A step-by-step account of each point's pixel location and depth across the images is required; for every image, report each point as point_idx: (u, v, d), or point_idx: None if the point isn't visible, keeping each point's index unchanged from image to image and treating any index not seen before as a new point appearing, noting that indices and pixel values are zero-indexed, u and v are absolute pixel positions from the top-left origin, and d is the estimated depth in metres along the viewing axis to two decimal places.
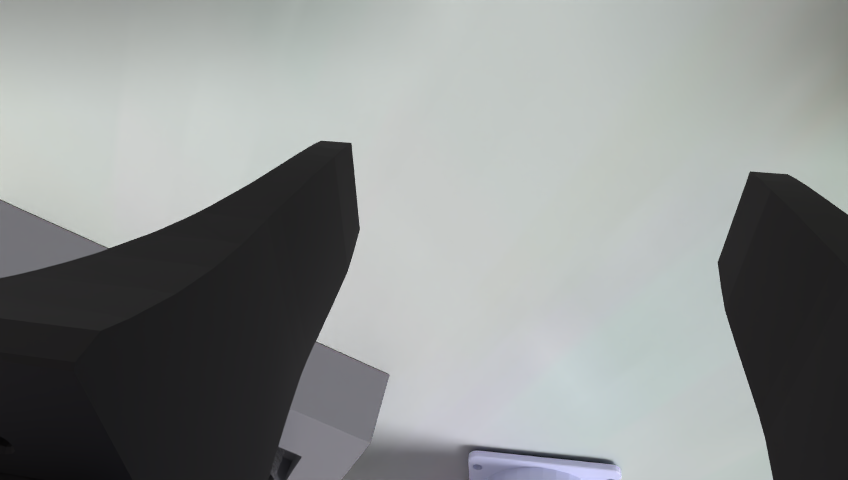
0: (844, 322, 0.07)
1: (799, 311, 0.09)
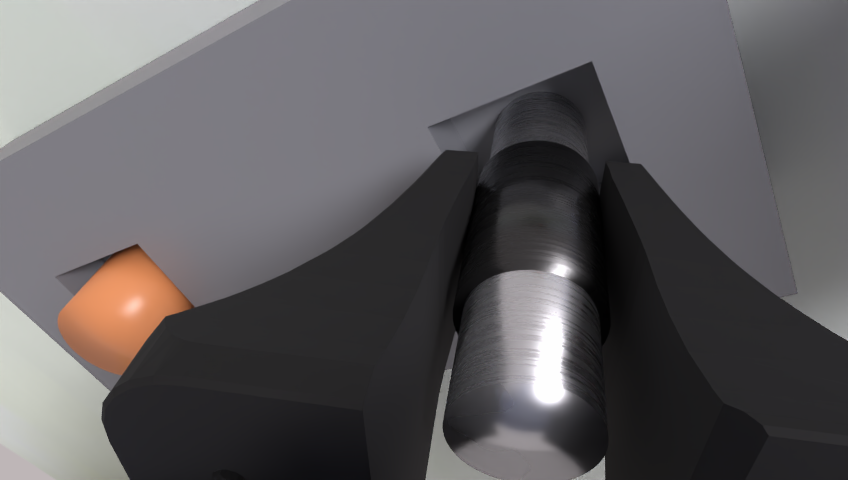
0: (641, 301, 0.08)
1: (623, 293, 0.09)
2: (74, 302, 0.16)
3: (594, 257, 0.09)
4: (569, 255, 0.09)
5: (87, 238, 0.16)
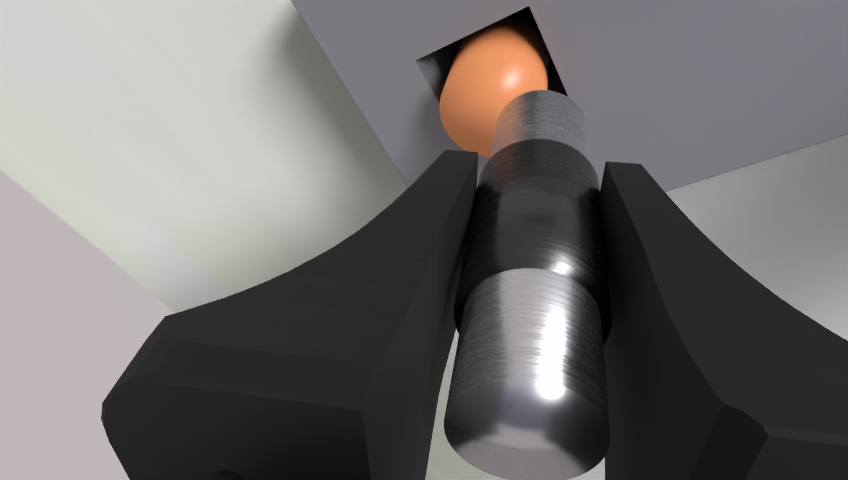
0: (640, 301, 0.08)
1: (622, 293, 0.09)
2: (472, 62, 0.16)
3: (596, 257, 0.09)
4: (572, 254, 0.09)
5: (474, 4, 0.16)
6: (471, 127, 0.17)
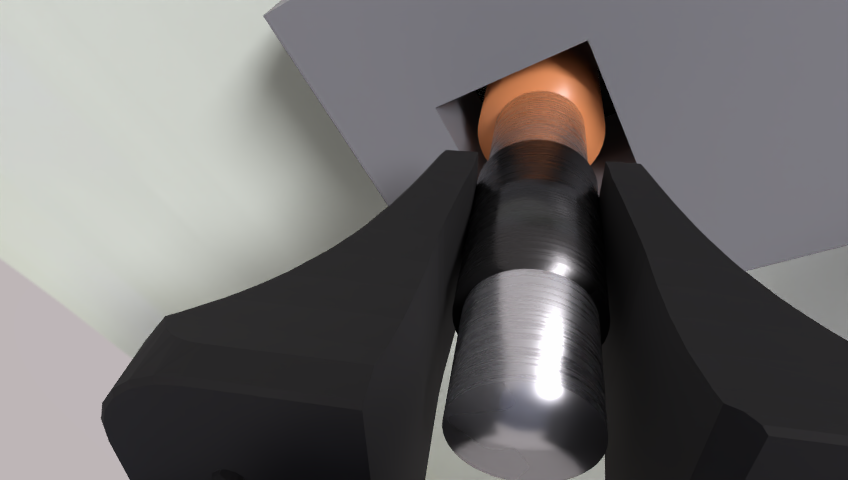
0: (641, 301, 0.08)
1: (622, 293, 0.09)
2: (519, 76, 0.13)
3: (595, 258, 0.09)
4: (570, 254, 0.09)
5: (514, 37, 0.12)
6: None
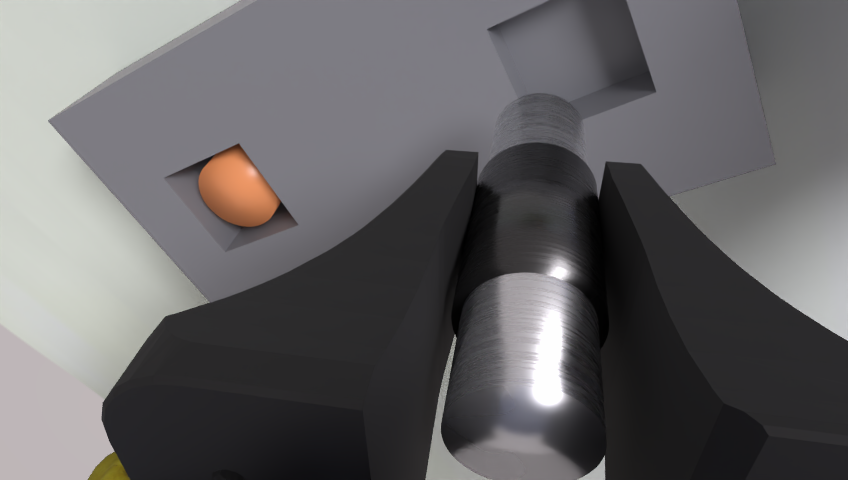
0: (641, 301, 0.08)
1: (623, 293, 0.09)
2: (215, 159, 0.21)
3: (595, 262, 0.09)
4: (572, 259, 0.09)
5: (197, 140, 0.20)
6: (225, 204, 0.22)
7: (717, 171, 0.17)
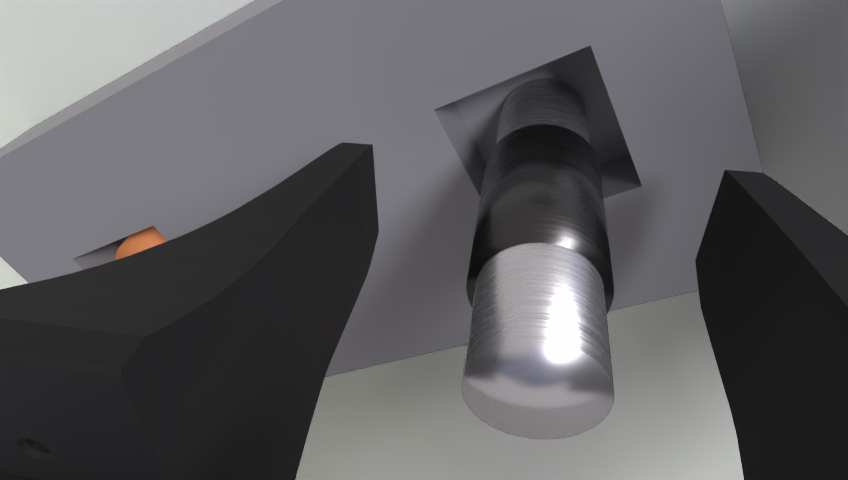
0: (808, 318, 0.08)
1: (767, 307, 0.09)
2: (131, 238, 0.18)
3: (600, 234, 0.10)
4: (578, 231, 0.09)
5: (105, 220, 0.17)
6: None
7: None
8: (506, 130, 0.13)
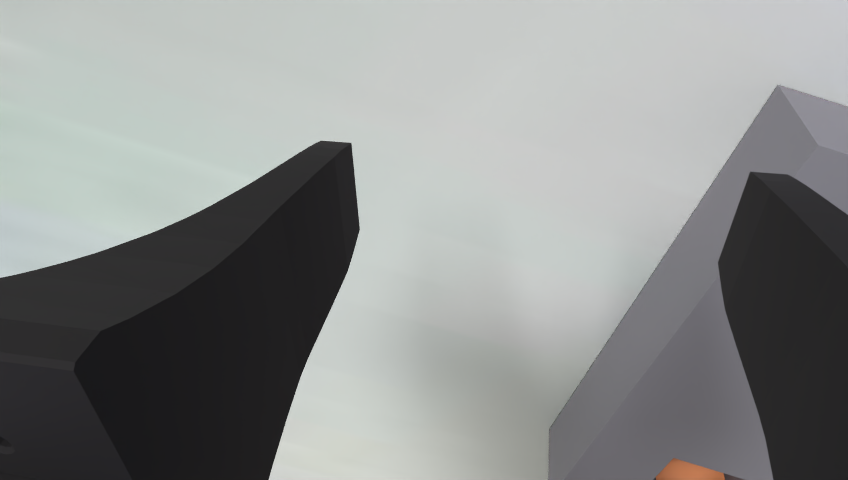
0: (844, 322, 0.07)
1: (799, 311, 0.09)
2: None
3: None
4: None
5: (644, 468, 0.26)
6: None
7: None
8: None
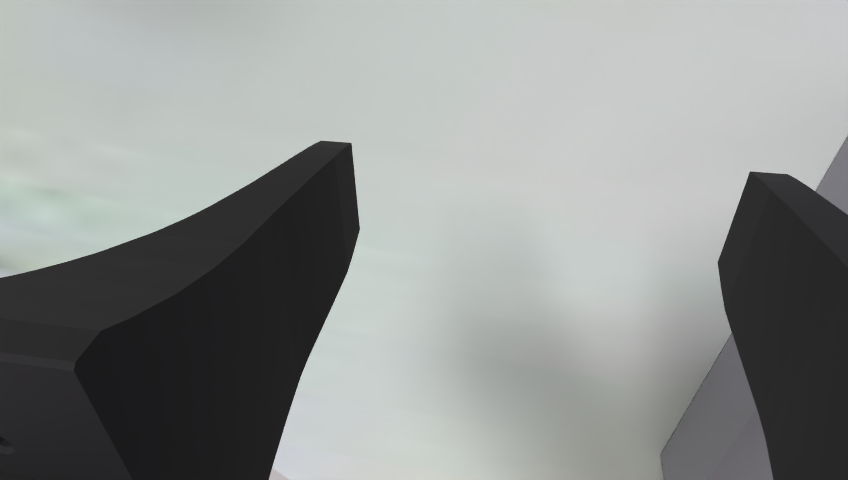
0: (844, 322, 0.07)
1: (799, 311, 0.09)
2: None
3: None
4: None
5: None
6: None
7: None
8: None
